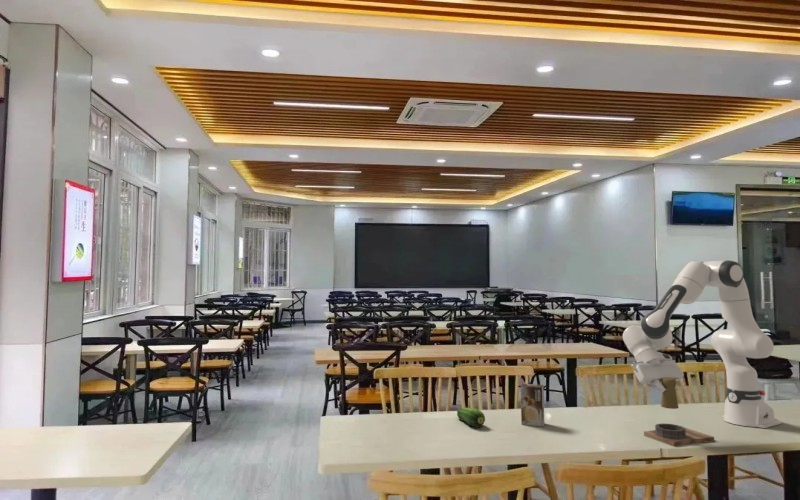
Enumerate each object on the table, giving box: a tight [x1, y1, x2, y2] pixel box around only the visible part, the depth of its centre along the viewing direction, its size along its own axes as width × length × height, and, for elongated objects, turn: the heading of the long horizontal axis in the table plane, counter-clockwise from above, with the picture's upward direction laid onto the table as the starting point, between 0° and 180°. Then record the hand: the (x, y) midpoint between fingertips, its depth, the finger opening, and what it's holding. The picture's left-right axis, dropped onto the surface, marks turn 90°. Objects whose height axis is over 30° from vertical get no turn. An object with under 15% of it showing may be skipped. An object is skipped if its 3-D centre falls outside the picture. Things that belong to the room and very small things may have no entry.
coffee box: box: [520, 383, 545, 427], centre depth 220 cm, size 9×6×16 cm
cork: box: [660, 377, 679, 410], centre depth 200 cm, size 6×6×11 cm
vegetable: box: [456, 407, 486, 428], centre depth 221 cm, size 7×7×20 cm
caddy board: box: [643, 423, 715, 447], centre depth 200 cm, size 20×14×4 cm
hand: (670, 390), depth 199 cm, fingers closed on cork, 4 cm apart
